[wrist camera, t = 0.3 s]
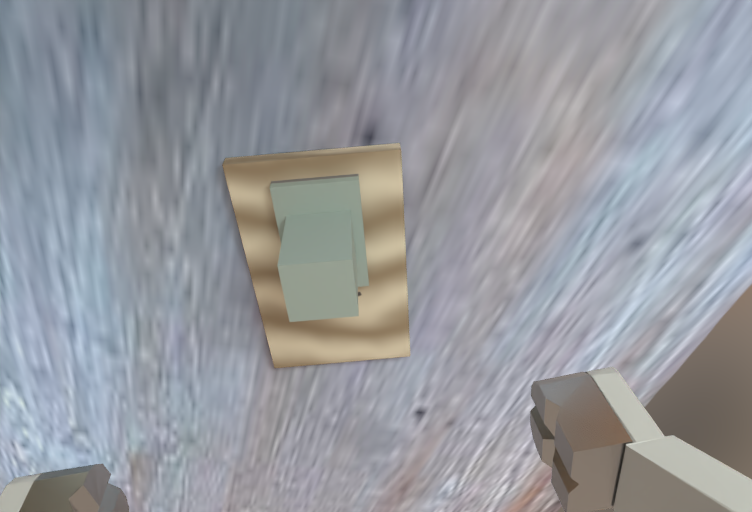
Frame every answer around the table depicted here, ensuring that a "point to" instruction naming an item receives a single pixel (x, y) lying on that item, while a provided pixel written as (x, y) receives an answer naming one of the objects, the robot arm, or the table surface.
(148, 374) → the table surface
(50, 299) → the table surface
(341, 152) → the birch board
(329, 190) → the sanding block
